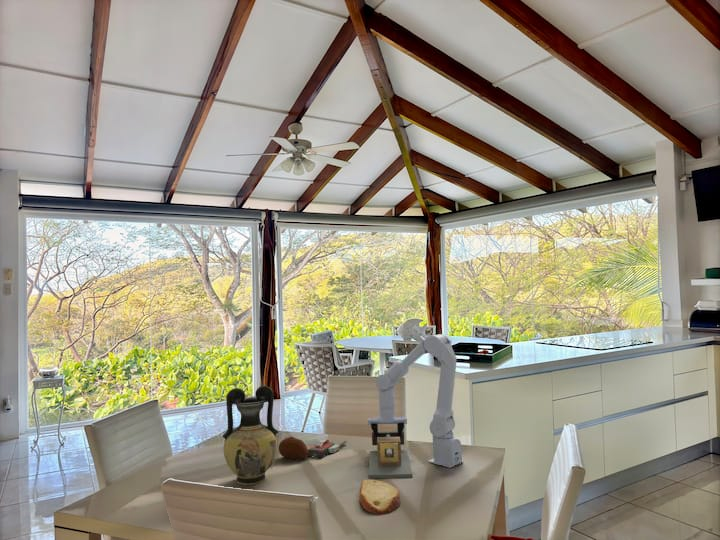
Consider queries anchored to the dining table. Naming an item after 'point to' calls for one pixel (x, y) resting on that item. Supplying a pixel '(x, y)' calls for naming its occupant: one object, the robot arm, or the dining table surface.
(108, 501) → the dining table surface
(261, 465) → the amphora
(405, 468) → the mat
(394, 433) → the grey and silver t-piece
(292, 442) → the potato
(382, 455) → the collar
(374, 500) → the slice of bread
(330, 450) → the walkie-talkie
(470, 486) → the dining table surface
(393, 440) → the bearing block
